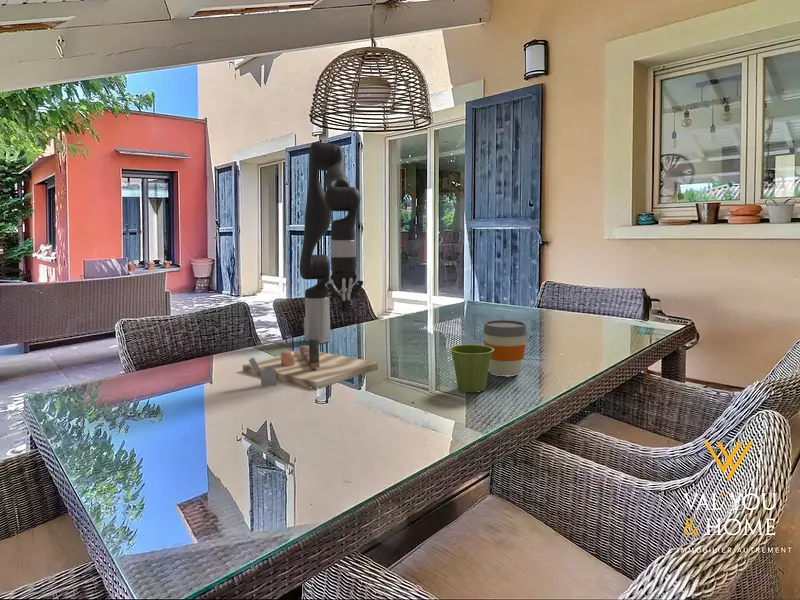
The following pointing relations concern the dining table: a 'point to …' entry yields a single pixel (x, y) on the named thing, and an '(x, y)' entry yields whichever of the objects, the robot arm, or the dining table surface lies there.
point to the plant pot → (471, 366)
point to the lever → (311, 353)
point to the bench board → (315, 369)
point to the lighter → (265, 373)
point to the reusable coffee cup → (505, 345)
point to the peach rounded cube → (287, 358)
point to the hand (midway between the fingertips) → (344, 312)
